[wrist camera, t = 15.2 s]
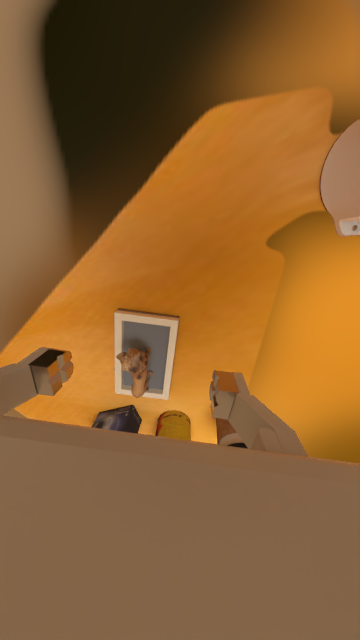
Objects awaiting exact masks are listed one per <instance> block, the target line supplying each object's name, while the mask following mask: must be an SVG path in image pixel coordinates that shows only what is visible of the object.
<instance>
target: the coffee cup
mask: <svg viewBox="0 0 360 640" xmlns="http://www.w3.org/2000/svg"><path fill="white" fill-rule="evenodd" d="M216 425H217V442H218V445H225V446H232V447H240V448H247V446H246V445H245V443H244V442H243V441H242V439H241V438H240V436H239V435H238V434H237V432H236V431H235V429H234V428H233V427H232V425H231V424H230V422H229V421H228V420H226V419H220V418H216ZM247 449H248V448H247Z"/></svg>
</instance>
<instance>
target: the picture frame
mask: <svg viewBox="0 0 360 640" xmlns="http://www.w3.org/2000/svg"><path fill="white" fill-rule="evenodd" d="M178 322H179V316H171V315H163V314H156V313H148V312H140V311H133V310H125V309H118V310H117V311H116V312H115V313H114V323H115V393H117V394H125V395H132V392H131V389H132V385H133V379H132V374H130V372H127V371H123V370H122V365H121V363H120V360H118V359H117V358H116V356H117V355H118V354H119V353H122V352H126V353H127V352H128V349H130V348H135V349H138V350H139V351H143V352H144V353H145V352H146V349H147V348H150V349H151V353H150V355H149V361H148V365H147V376H148V372H149V371H153V374H152V376H151V377H150V380H149V382H148V389H149V390H146V391H145V393H144V394H143V395H142V396H141V397H149V398H157V399H165V400H168V397H169V390H170V382H171V375H172V367H173V360H174V352H175V345H176V337H177V330H178ZM145 354H146V353H145ZM146 378H147V377H146Z"/></svg>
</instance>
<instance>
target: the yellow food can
mask: <svg viewBox="0 0 360 640" xmlns="http://www.w3.org/2000/svg"><path fill="white" fill-rule="evenodd" d="M156 436H159V437H166V438H173V439H180V440H188V441H191V435H190V419H189V418H188V416H187V415H186V414H184V413H182V412H180V411H174V410H172V411H167V412H164V413H163V414H161V415H160V417H159V419H158V424H157V430H156Z"/></svg>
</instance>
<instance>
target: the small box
mask: <svg viewBox="0 0 360 640" xmlns="http://www.w3.org/2000/svg"><path fill="white" fill-rule="evenodd" d="M141 421H142V420H141V418H140V417H139V415H138V413H137V411H136V409H135V407H134V406H133V405H131V406H126V407H122V408H117V409H113V410H108V411H104V412H99V414H98V416H97V418H96V420H95V422H94V424H93V425H92V427H93V428H100V429H107V430H115V431H122V432H129V433H137V434H138V430H139V427H140V424H141Z"/></svg>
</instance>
